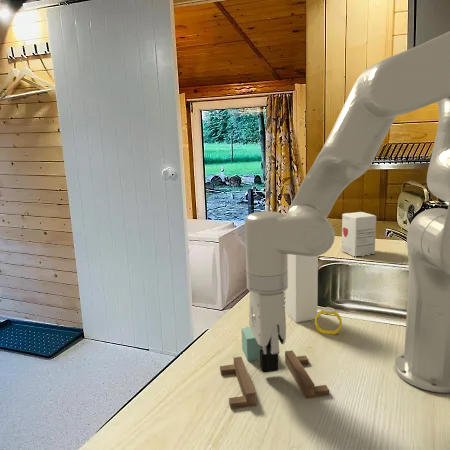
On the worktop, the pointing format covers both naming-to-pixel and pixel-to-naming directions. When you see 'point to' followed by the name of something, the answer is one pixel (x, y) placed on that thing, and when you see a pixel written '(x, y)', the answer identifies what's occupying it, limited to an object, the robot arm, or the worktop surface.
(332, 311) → the watch
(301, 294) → the milk
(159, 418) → the worktop surface
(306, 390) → the wooden brackets
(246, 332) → the block
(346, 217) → the supplement box
